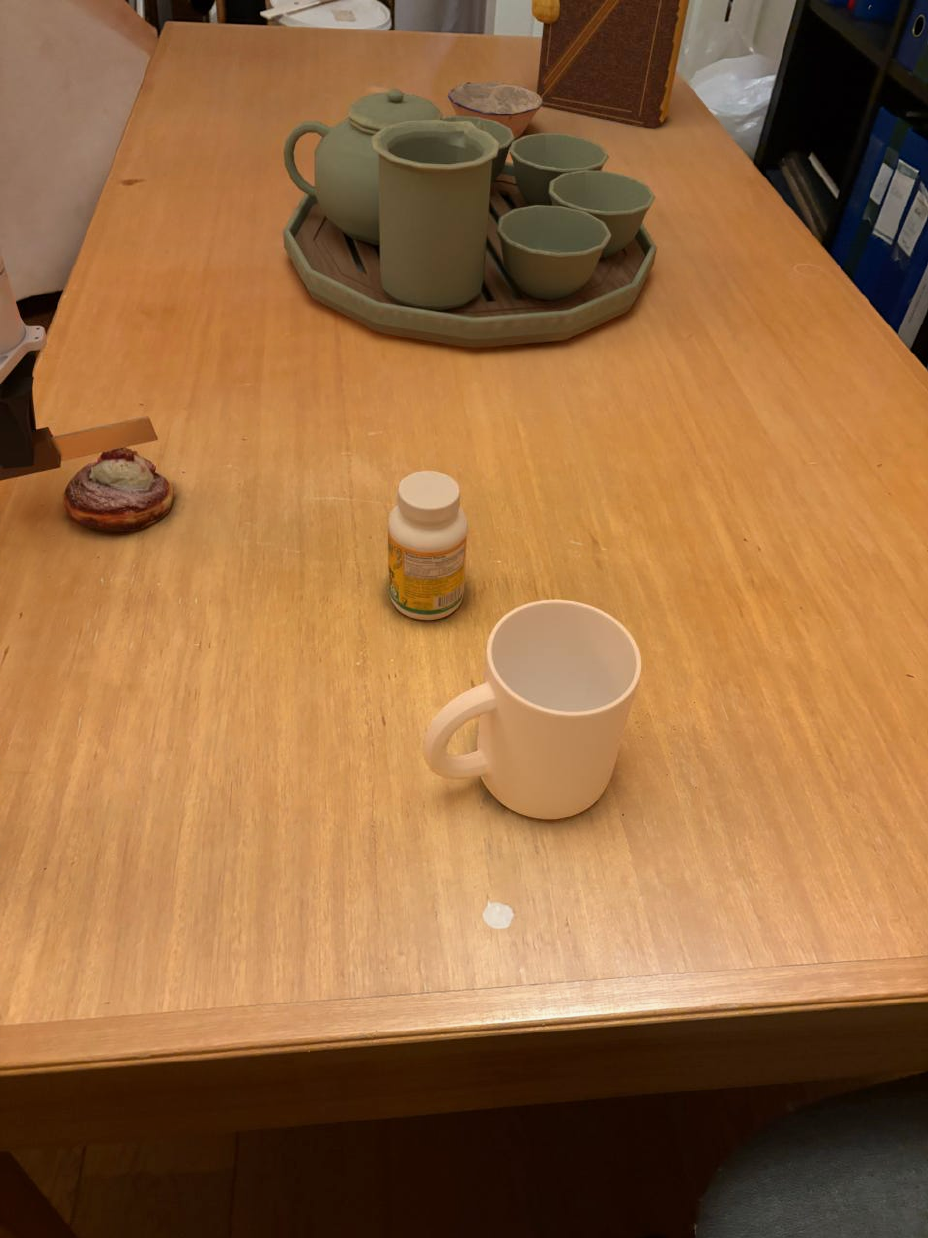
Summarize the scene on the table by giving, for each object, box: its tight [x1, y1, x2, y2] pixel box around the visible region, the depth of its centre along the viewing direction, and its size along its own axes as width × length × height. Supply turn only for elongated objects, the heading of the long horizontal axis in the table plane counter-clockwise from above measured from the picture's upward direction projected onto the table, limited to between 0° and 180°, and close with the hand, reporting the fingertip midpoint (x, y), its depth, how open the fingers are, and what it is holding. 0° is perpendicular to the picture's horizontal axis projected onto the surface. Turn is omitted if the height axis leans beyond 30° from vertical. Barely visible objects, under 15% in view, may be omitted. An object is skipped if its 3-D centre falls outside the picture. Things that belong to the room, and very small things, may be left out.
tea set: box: [282, 88, 658, 349], centre depth 97 cm, size 40×40×16 cm
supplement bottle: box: [387, 470, 469, 621], centre depth 63 cm, size 5×5×10 cm
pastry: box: [62, 447, 174, 533], centre depth 70 cm, size 8×8×5 cm
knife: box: [0, 415, 158, 482], centre depth 67 cm, size 12×2×2 cm, turn 104°
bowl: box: [447, 81, 543, 140], centre depth 129 cm, size 13×13×5 cm
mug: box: [422, 599, 643, 820], centre depth 52 cm, size 12×8×10 cm
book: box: [531, 0, 690, 129], centre depth 131 cm, size 22×8×25 cm, turn 65°
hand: (19, 454), depth 66 cm, fingers closed on knife, 2 cm apart
